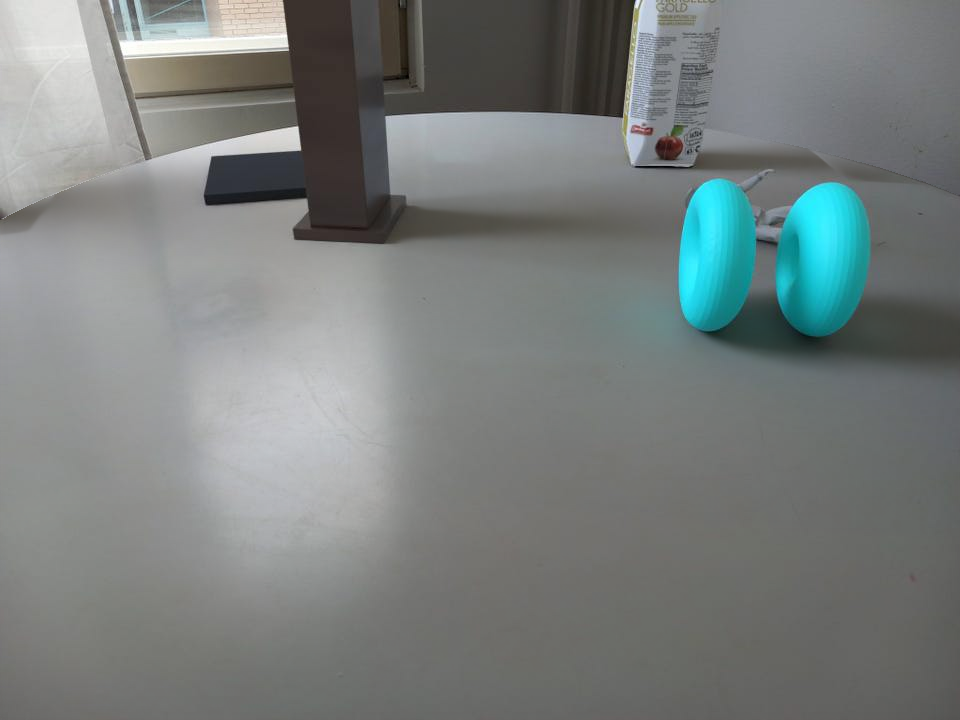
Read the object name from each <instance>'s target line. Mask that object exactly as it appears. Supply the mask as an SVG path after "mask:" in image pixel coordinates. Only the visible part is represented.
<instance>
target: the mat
mask: <svg viewBox="0 0 960 720" xmlns="http://www.w3.org/2000/svg"><path fill="white" fill-rule="evenodd" d="M299 198H301V199H302V198H307V194H306V186H305V178H304V170H303V162H302V153H301V150H288V151H273V152H272V151H271V152H257V153H255V152H254V153H242V154H241V153H239V154H227V155H226V154H224V155H211V157H210V162H209V168H208V172H207V176H206V181H205V185H204V191H203V200H204V204H205V206H208V205H210V206H211V205H222V204H223V205H224V204H234V203H235V204H236V203H250V202H263V201H273V200H289V199H299Z"/></svg>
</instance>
